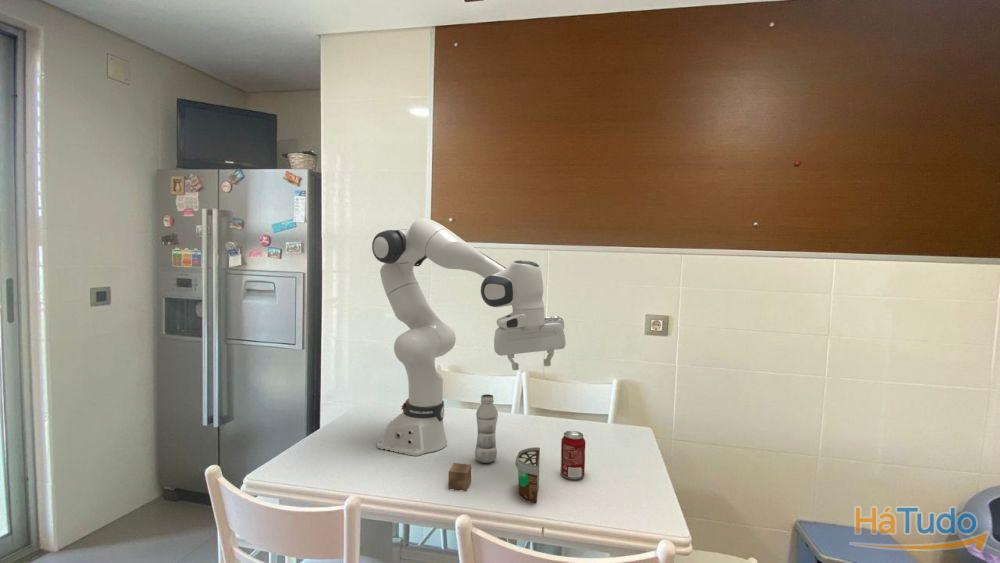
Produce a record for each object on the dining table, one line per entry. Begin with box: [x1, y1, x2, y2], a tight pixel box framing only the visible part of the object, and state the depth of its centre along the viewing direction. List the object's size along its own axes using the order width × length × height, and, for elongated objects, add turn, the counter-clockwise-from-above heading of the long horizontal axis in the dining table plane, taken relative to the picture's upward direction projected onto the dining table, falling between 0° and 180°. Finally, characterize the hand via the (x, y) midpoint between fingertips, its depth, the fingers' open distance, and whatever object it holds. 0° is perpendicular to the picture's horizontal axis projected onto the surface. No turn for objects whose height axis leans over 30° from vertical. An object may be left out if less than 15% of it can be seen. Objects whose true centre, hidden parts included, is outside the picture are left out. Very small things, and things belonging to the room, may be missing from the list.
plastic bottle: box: [474, 394, 499, 464], centre depth 135 cm, size 6×7×20 cm
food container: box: [514, 446, 541, 504], centre depth 117 cm, size 12×6×10 cm, turn 172°
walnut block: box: [447, 462, 472, 492], centre depth 121 cm, size 5×5×5 cm
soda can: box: [560, 430, 586, 481], centre depth 127 cm, size 7×7×12 cm
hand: (531, 367), depth 125 cm, fingers open, 8 cm apart
